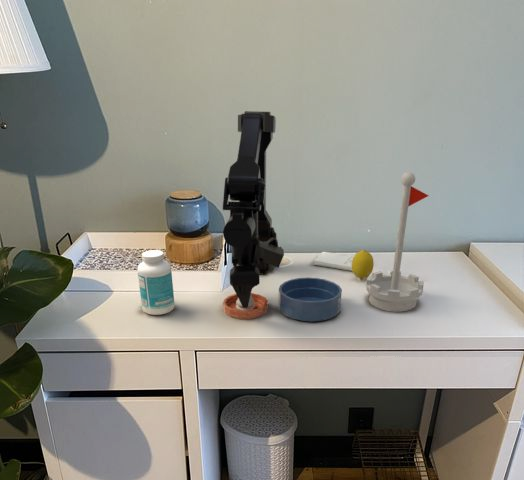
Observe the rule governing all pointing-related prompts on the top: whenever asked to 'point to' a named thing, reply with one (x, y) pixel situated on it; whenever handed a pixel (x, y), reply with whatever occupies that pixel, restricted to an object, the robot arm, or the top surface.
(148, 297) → the pill bottle
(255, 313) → the orange round lid
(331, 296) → the bowl
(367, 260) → the lemon
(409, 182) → the flag stand
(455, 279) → the top surface
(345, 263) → the hard drive
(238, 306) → the rook chess piece
